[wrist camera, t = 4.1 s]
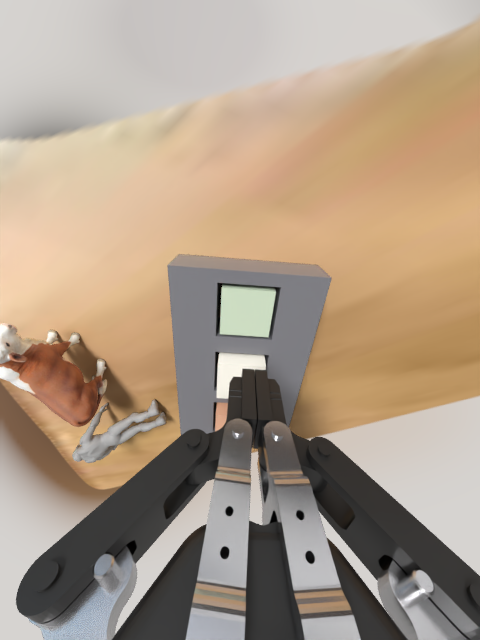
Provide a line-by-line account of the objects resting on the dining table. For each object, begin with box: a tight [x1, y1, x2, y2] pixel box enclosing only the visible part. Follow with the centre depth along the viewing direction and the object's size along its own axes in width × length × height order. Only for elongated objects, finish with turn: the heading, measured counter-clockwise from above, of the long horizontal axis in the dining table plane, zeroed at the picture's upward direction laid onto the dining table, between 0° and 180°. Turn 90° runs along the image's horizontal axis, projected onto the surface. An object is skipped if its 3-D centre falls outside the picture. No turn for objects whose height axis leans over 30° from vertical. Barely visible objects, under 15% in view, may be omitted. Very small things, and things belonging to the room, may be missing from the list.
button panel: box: [168, 254, 331, 435], centre depth 27 cm, size 14×23×4 cm, turn 176°
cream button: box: [216, 352, 266, 399], centre depth 25 cm, size 5×5×3 cm
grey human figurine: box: [72, 399, 167, 463], centre depth 32 cm, size 6×5×12 cm
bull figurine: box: [0, 323, 107, 427], centre depth 24 cm, size 4×13×8 cm, turn 18°
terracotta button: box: [215, 402, 228, 431], centre depth 28 cm, size 5×5×3 cm
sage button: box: [220, 283, 276, 337], centre depth 22 cm, size 5×5×3 cm
